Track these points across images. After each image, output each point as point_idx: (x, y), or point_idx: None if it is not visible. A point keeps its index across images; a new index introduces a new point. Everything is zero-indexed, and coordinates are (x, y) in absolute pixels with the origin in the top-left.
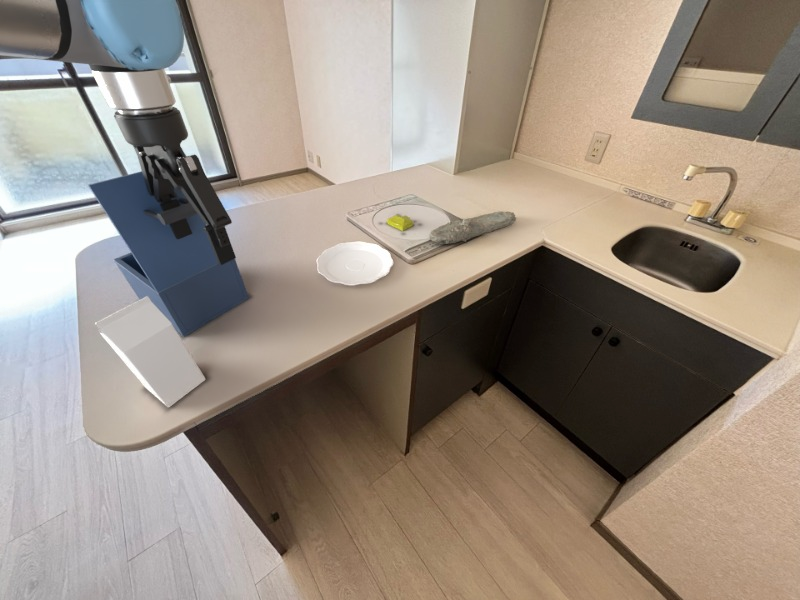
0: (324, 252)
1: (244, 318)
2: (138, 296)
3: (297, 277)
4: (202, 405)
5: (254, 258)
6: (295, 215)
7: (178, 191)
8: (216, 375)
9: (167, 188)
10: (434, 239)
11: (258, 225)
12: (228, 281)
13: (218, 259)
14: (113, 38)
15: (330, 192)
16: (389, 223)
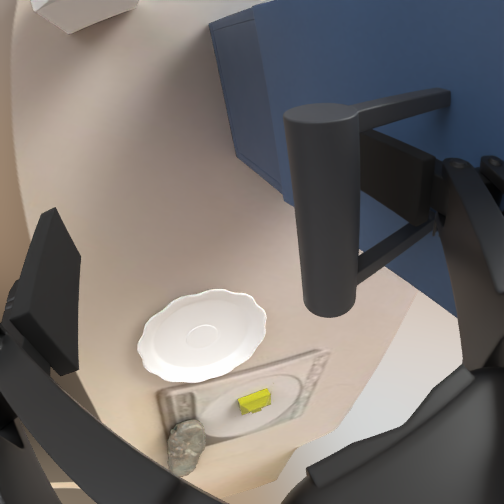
0: (260, 310)
1: (183, 130)
2: None
3: (235, 250)
4: (23, 26)
5: None
6: (380, 290)
7: None
8: (67, 51)
9: (456, 251)
10: (184, 425)
11: None
12: (255, 147)
13: (41, 223)
14: None
15: (383, 340)
16: (263, 391)
